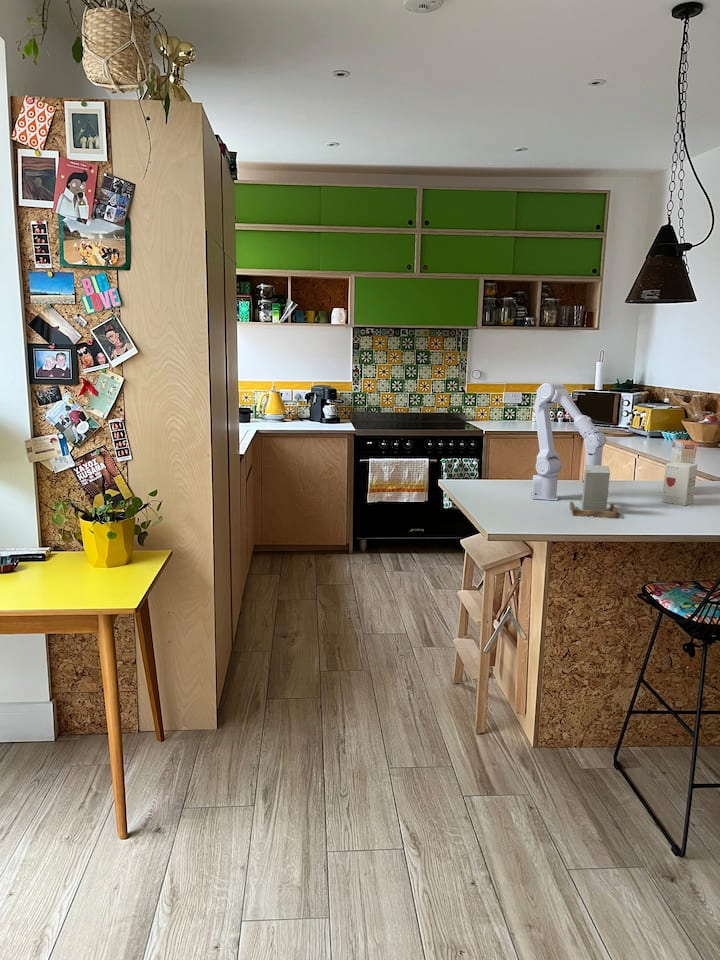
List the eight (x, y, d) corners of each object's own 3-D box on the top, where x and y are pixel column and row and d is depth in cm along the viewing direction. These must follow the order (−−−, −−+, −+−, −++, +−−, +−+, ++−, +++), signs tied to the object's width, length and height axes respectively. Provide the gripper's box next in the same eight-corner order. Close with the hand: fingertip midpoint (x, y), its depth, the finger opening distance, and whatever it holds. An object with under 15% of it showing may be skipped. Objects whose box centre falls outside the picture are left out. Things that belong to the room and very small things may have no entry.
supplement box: (661, 502, 271) (664, 463, 268) (669, 498, 278) (673, 461, 275) (685, 506, 265) (689, 466, 262) (693, 502, 271) (698, 464, 269)
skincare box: (604, 505, 257) (609, 464, 250) (606, 513, 250) (611, 472, 244) (580, 503, 258) (584, 463, 252) (581, 511, 252) (585, 470, 246)
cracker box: (692, 495, 286) (697, 443, 282) (676, 494, 287) (681, 443, 283) (682, 488, 300) (687, 439, 296) (667, 487, 301) (672, 438, 297)
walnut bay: (573, 515, 245) (573, 510, 245) (569, 507, 259) (570, 501, 259) (618, 518, 243) (619, 512, 242) (612, 509, 256) (613, 504, 256)
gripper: (607, 469, 251) (604, 506, 253) (602, 462, 265) (599, 498, 267) (586, 468, 252) (583, 505, 255) (582, 461, 266) (579, 497, 269)
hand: (590, 501), depth 261 cm, fingers open, 6 cm apart
